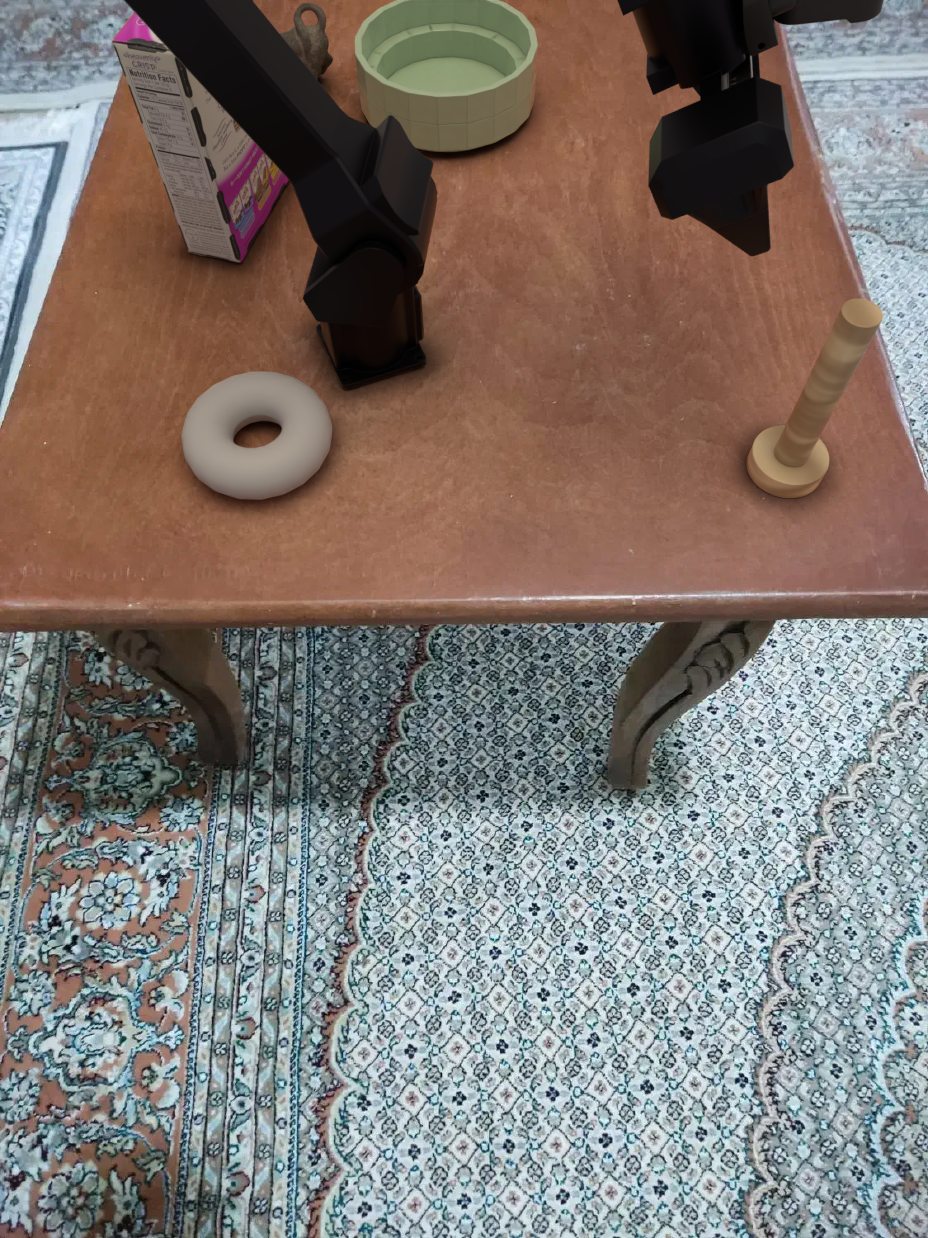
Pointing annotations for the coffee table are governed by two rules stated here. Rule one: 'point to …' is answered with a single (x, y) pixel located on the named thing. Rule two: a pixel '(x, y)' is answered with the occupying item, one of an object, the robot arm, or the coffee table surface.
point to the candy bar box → (197, 150)
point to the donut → (266, 465)
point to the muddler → (814, 408)
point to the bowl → (447, 70)
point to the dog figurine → (310, 40)
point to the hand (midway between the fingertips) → (757, 196)
